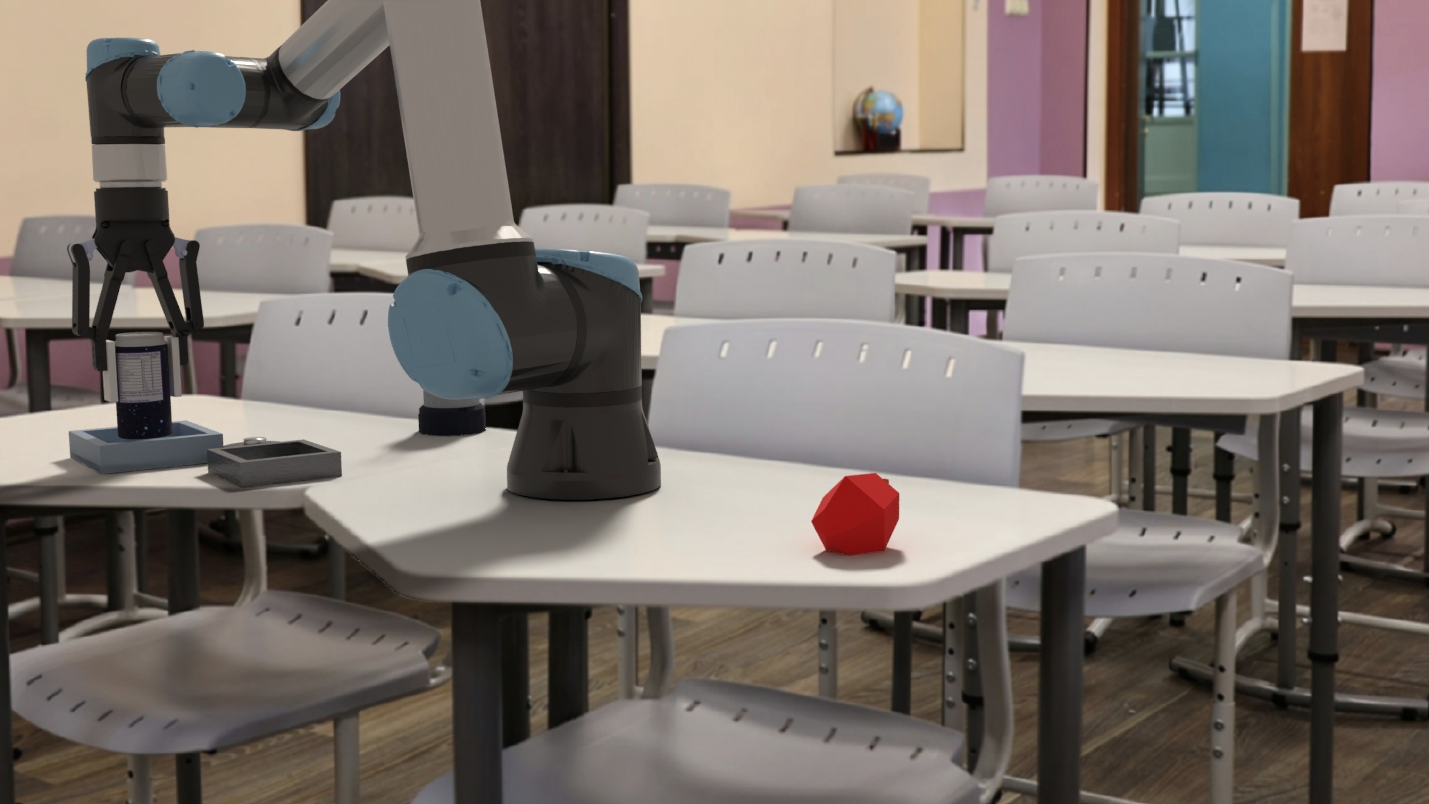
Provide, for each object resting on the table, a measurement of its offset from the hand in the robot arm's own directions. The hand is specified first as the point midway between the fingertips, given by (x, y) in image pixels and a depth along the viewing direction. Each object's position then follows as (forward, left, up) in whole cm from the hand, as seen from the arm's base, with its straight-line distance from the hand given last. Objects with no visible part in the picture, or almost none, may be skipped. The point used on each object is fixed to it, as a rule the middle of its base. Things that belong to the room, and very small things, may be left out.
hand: (143, 397), depth 178 cm
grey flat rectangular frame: (-15, -8, -7) cm, 18 cm away
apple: (-81, -34, -7) cm, 88 cm away
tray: (0, 0, -7) cm, 7 cm away
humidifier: (-2, -36, -7) cm, 37 cm away
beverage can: (0, 0, -5) cm, 5 cm away
